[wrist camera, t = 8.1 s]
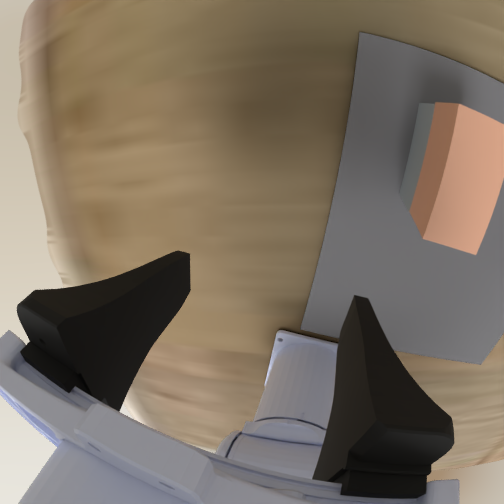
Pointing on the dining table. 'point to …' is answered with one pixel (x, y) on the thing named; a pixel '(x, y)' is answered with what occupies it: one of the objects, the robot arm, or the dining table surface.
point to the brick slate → (416, 152)
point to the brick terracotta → (459, 177)
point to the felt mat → (406, 216)
